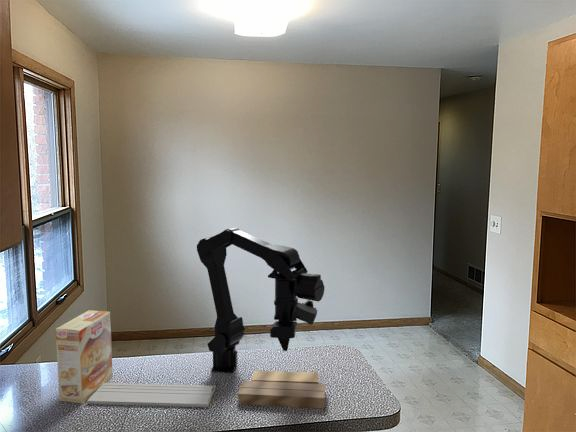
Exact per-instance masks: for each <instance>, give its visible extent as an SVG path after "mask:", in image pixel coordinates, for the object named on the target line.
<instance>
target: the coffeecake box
mask: <svg viewBox="0 0 576 432" xmlns="http://www.w3.org/2000/svg"><path fill="white" fill-rule="evenodd" d="M111 323H112V322H111V311H108V310H92V309H90V310H89V309H88V310H87V311H85V312H83V313H81V314H79V315H77V316H76V317H74V318H72V319H70V320H69V321H67V322H66V323H63V324H61V325H60V326H59V327H56V328H55V344H56V346H55V347H56V361H57V363H56V364H57V377H58V378H57V379H58V395H59V397H58V398H59V402H68V403H75V404H84V403H86V402H87V401H88V399H89V398H90V397H91V396H92V395H93V394H94V393H95V392H96V390H98V389H99V387H100V386H101V385H102V384H105V383H109V381H110V380H111V379H112V378H113V377H114V376H113V375H114V372H113V371H114V370H113V352H112V351H113V349H112V330H111V329H112V328H111V326H112V324H111Z"/></svg>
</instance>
